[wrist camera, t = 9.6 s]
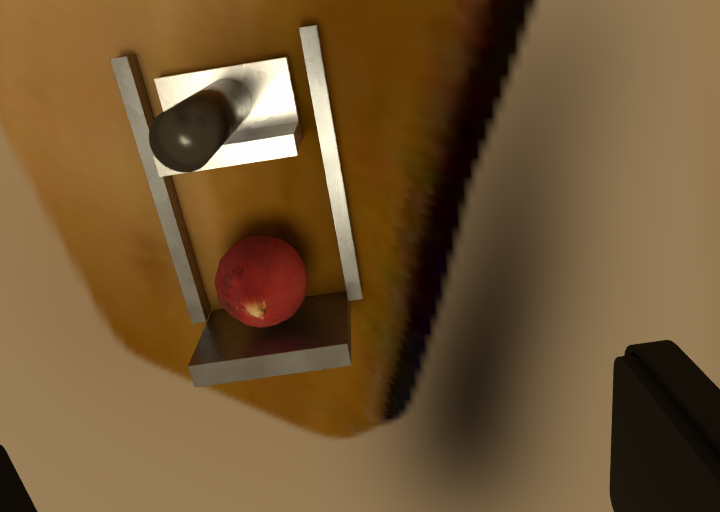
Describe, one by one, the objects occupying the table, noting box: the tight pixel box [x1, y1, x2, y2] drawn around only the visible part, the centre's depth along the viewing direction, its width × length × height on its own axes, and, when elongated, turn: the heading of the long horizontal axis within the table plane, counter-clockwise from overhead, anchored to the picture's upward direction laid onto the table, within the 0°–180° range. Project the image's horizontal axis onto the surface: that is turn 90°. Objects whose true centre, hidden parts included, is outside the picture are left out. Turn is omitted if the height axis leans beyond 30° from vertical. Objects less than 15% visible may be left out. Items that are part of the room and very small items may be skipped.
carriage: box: [149, 56, 303, 177], centre depth 31 cm, size 5×8×12 cm, turn 99°
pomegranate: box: [215, 235, 308, 328], centre depth 37 cm, size 6×6×8 cm
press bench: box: [110, 25, 363, 387], centre depth 35 cm, size 20×12×7 cm, turn 9°
